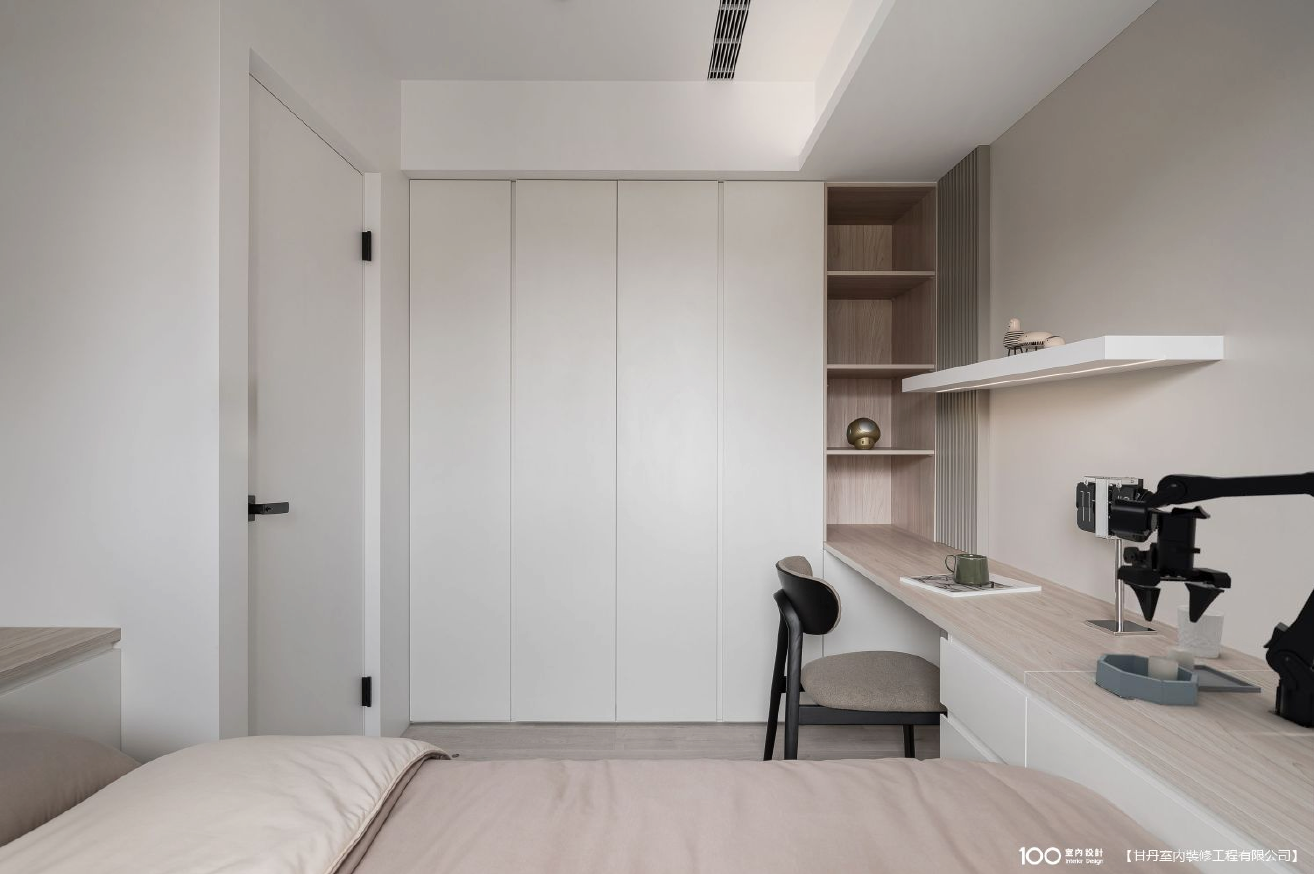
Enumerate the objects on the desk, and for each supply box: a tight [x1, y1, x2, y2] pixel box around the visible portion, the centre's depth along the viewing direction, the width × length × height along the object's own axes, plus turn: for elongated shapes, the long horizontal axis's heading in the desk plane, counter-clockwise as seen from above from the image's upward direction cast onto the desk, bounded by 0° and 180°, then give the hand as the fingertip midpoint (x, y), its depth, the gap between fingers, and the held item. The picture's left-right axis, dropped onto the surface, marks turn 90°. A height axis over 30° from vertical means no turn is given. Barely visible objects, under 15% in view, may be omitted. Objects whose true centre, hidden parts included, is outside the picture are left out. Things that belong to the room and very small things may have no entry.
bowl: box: [1095, 652, 1199, 706], centre depth 124 cm, size 15×15×4 cm
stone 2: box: [1165, 644, 1196, 672], centre depth 132 cm, size 4×4×5 cm
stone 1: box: [1148, 655, 1178, 681], centre depth 124 cm, size 4×4×5 cm
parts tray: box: [1194, 663, 1262, 694], centre depth 130 cm, size 12×13×2 cm
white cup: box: [1177, 605, 1225, 659], centre depth 147 cm, size 8×8×10 cm
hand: (1170, 621), depth 127 cm, fingers open, 9 cm apart
